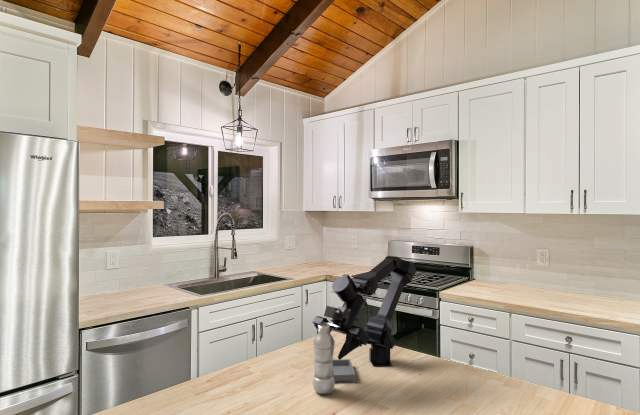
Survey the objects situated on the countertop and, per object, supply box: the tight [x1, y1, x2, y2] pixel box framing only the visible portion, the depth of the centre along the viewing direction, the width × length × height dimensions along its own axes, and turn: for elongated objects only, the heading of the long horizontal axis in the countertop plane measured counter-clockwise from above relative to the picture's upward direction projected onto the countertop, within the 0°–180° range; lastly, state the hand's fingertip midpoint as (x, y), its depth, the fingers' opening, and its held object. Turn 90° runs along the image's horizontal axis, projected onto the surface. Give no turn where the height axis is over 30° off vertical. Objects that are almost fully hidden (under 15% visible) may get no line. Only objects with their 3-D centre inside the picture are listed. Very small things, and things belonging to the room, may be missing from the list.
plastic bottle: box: [312, 323, 336, 395], centre depth 121 cm, size 6×7×20 cm
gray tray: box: [333, 358, 357, 383], centre depth 133 cm, size 12×12×2 cm
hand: (326, 354), depth 121 cm, fingers open, 9 cm apart
